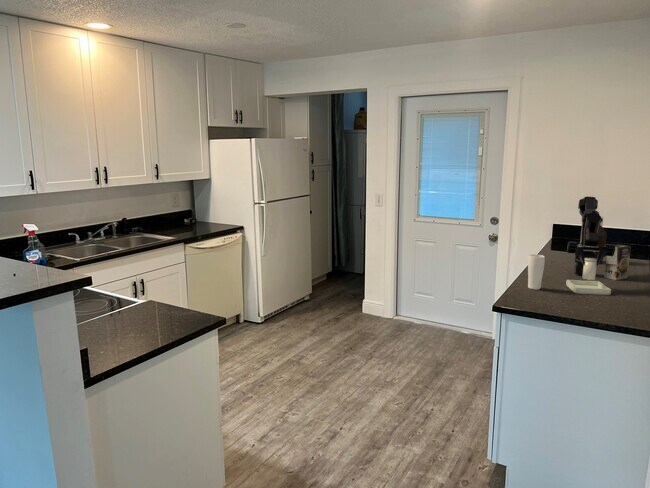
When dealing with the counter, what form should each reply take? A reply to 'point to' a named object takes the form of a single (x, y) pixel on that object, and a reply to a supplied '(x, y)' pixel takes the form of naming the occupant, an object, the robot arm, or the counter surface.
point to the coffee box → (618, 263)
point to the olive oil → (601, 242)
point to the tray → (588, 287)
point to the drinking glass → (535, 271)
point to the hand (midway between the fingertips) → (590, 264)
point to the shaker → (589, 268)
